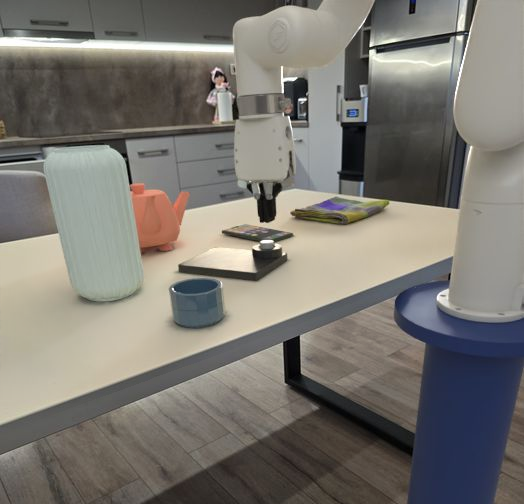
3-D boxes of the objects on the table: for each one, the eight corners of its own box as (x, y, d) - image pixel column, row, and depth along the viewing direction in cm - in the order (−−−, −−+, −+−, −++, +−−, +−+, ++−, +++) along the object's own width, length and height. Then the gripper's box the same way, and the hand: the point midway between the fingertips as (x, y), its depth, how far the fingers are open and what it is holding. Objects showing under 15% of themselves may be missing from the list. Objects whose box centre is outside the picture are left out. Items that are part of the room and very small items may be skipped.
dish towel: (392, 209, 131) (393, 198, 130) (344, 226, 115) (344, 214, 114) (338, 204, 142) (338, 194, 140) (287, 219, 125) (286, 208, 124)
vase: (125, 278, 86) (100, 143, 76) (159, 291, 78) (137, 144, 68) (62, 295, 79) (26, 150, 69) (93, 312, 72) (58, 151, 62)
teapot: (196, 239, 109) (189, 177, 103) (163, 261, 95) (153, 190, 89) (134, 238, 114) (124, 179, 108) (93, 258, 99) (78, 191, 93)
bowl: (234, 312, 69) (231, 280, 66) (207, 332, 63) (203, 298, 61) (192, 306, 72) (188, 275, 69) (163, 324, 66) (157, 291, 64)
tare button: (276, 247, 90) (275, 240, 89) (270, 250, 88) (269, 243, 87) (263, 246, 91) (263, 239, 90) (257, 249, 89) (257, 242, 88)
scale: (287, 259, 92) (287, 244, 90) (256, 280, 81) (255, 263, 80) (216, 253, 98) (215, 238, 97) (178, 272, 88) (176, 256, 86)
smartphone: (269, 243, 103) (269, 237, 103) (221, 235, 113) (221, 230, 112) (293, 236, 109) (293, 230, 108) (245, 228, 118) (245, 223, 117)
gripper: (311, 104, 79) (313, 218, 87) (233, 111, 85) (241, 216, 93) (293, 105, 73) (297, 227, 81) (210, 112, 79) (221, 224, 87)
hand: (267, 221), depth 87 cm, fingers closed
